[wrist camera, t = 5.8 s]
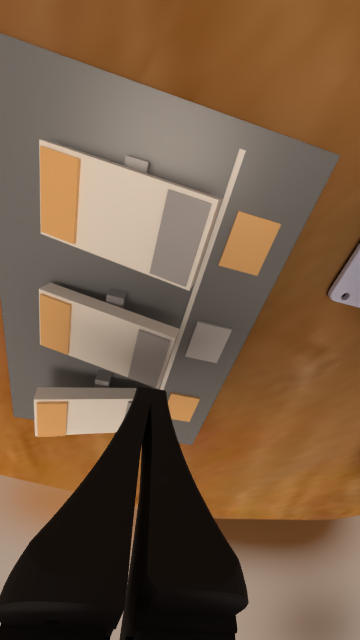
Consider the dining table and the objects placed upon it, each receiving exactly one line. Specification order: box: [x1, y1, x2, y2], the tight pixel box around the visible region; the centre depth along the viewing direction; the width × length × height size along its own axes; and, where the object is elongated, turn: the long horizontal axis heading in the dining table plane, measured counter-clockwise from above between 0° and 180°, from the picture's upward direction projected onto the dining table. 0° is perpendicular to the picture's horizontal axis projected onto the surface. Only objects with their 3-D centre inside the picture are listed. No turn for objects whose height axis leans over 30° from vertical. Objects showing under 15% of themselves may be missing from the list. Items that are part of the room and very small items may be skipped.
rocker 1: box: [39, 139, 222, 291], centre depth 12 cm, size 8×4×1 cm, turn 75°
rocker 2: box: [39, 283, 179, 389], centre depth 15 cm, size 8×4×1 cm, turn 75°
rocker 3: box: [34, 387, 154, 437], centre depth 19 cm, size 8×4×1 cm, turn 74°
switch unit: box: [0, 33, 340, 445], centre depth 17 cm, size 16×24×2 cm, turn 165°
